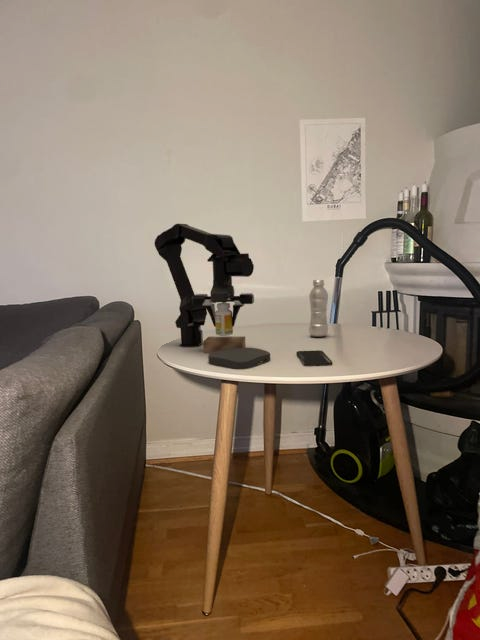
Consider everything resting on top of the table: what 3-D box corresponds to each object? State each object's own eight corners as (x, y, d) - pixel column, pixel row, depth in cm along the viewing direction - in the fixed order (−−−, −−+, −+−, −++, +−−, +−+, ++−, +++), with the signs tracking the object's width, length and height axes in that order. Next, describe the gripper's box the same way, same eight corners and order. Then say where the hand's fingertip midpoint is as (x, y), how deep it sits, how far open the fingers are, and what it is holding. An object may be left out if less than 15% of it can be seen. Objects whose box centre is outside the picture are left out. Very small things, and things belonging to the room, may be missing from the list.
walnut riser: (203, 353, 132) (203, 341, 132) (209, 347, 140) (208, 336, 140) (242, 353, 131) (242, 341, 130) (245, 347, 138) (245, 336, 138)
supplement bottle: (233, 332, 137) (232, 302, 136) (231, 335, 132) (230, 304, 130) (217, 332, 138) (216, 302, 136) (214, 336, 132) (213, 304, 131)
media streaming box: (202, 364, 120) (202, 353, 120) (236, 354, 131) (236, 344, 131) (243, 372, 111) (242, 360, 110) (275, 360, 122) (275, 350, 121)
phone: (321, 350, 128) (333, 362, 113) (321, 354, 128) (333, 366, 113) (295, 351, 128) (303, 363, 113) (295, 354, 128) (303, 367, 113)
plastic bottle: (306, 335, 155) (306, 280, 152) (324, 334, 156) (324, 279, 153) (312, 339, 149) (312, 281, 146) (331, 337, 150) (331, 280, 147)
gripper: (186, 278, 125) (188, 331, 128) (249, 277, 123) (251, 331, 125) (195, 276, 136) (197, 325, 139) (253, 275, 134) (254, 324, 136)
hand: (224, 326), depth 134 cm, fingers closed on supplement bottle, 5 cm apart
